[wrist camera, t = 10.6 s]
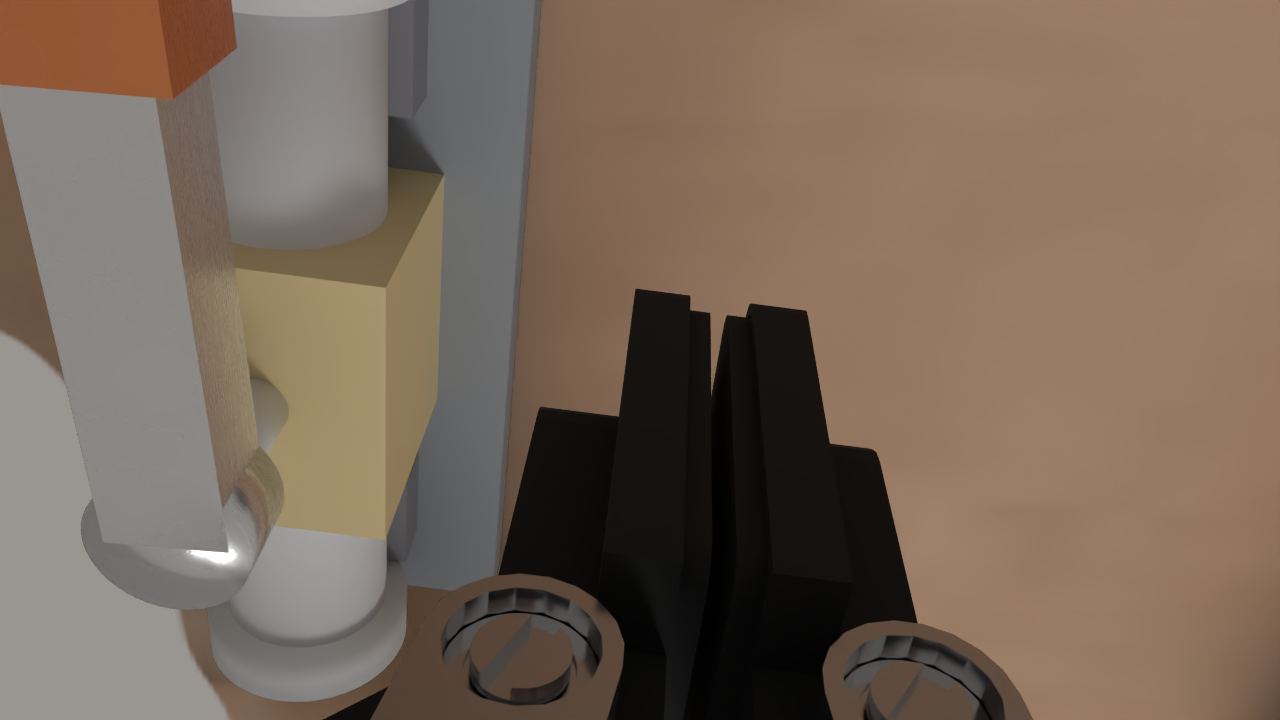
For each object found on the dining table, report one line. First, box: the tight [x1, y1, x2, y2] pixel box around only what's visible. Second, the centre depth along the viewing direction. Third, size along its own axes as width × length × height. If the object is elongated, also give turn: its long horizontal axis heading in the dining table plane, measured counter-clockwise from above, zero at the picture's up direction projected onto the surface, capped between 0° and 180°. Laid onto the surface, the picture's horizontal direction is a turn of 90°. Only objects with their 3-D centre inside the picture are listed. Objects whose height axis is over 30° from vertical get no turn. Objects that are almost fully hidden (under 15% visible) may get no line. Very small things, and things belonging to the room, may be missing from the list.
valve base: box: [207, 0, 542, 702], centre depth 27 cm, size 22×10×10 cm, turn 173°
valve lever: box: [0, 0, 284, 610], centre depth 18 cm, size 3×18×3 cm, turn 176°
